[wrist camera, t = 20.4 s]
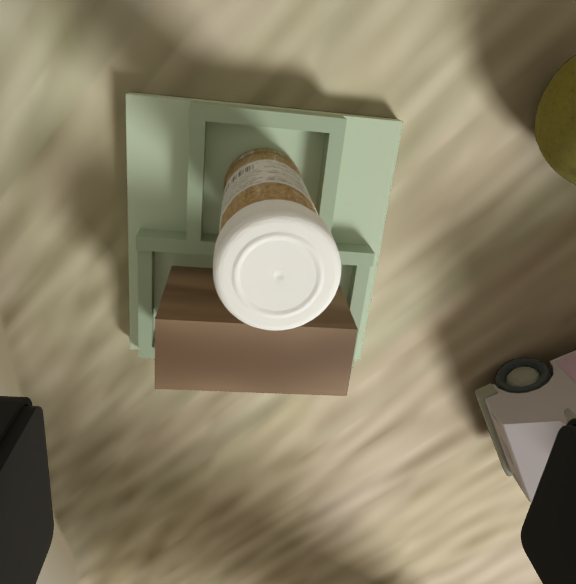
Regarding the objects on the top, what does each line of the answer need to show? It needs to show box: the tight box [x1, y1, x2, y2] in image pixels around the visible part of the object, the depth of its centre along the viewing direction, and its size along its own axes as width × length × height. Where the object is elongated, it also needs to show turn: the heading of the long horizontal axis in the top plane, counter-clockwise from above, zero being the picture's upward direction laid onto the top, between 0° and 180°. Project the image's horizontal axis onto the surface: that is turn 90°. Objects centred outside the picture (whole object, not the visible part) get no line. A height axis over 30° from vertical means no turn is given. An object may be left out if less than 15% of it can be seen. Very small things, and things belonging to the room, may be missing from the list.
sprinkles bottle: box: [213, 148, 341, 331], centre depth 25 cm, size 5×5×13 cm
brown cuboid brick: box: [155, 266, 358, 396], centre depth 31 cm, size 4×10×7 cm, turn 84°
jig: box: [126, 92, 403, 368], centre depth 32 cm, size 15×15×3 cm
